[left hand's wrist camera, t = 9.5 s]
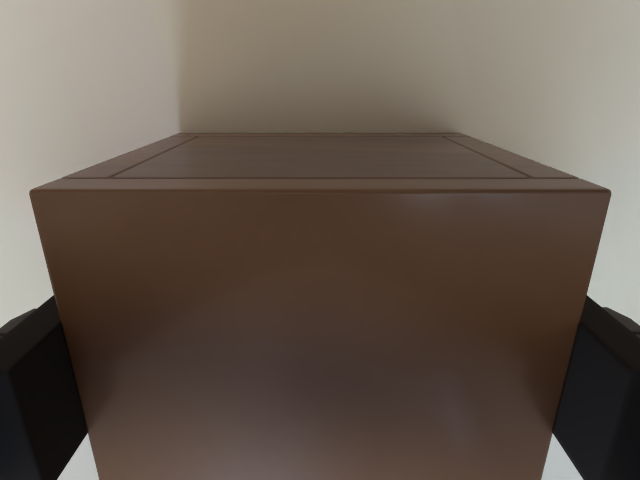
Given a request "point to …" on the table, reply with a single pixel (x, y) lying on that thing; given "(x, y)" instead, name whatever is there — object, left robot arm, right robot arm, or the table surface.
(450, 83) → the table surface
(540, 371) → the cabinet
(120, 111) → the table surface
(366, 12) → the table surface
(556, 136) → the table surface
